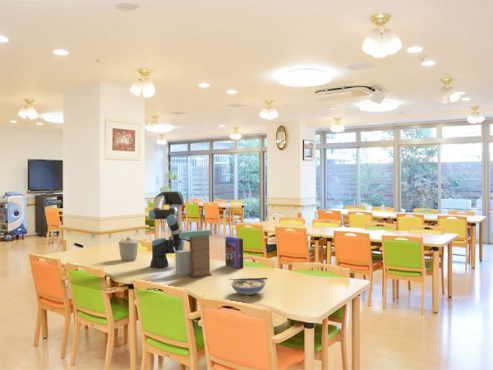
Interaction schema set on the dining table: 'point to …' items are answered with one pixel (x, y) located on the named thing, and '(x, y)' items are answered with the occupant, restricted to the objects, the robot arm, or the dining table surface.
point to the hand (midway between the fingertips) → (183, 249)
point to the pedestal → (199, 257)
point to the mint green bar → (194, 234)
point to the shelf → (182, 262)
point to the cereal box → (234, 252)
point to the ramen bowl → (248, 285)
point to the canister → (128, 249)
